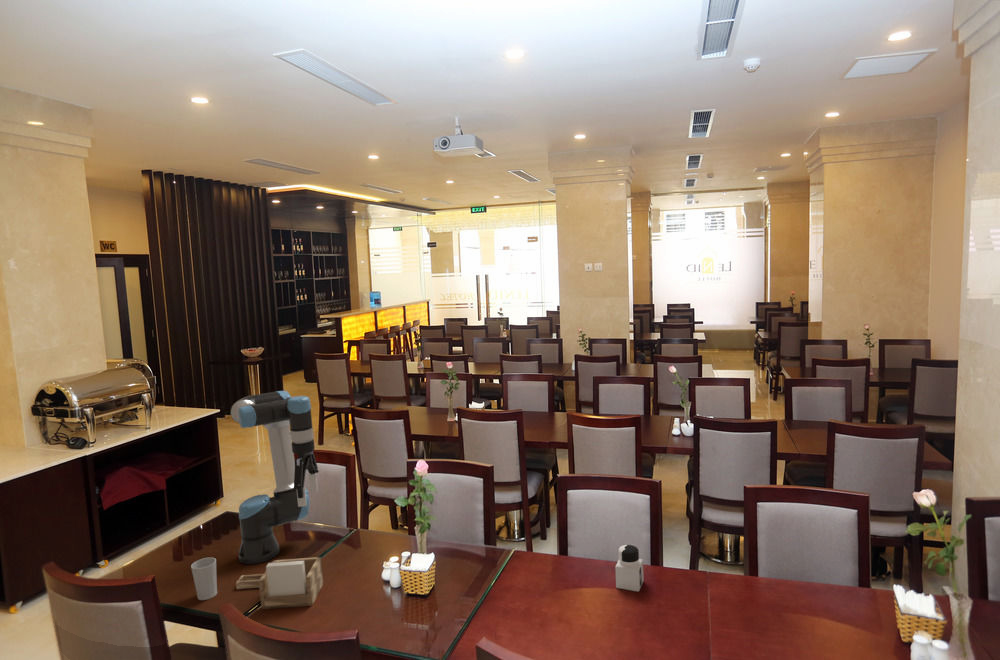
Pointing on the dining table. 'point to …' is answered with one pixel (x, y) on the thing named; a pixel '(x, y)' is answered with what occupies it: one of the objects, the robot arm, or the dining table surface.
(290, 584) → the white square slab
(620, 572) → the container
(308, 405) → the robot arm
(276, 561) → the wooden box
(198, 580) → the cup
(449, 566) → the dining table surface
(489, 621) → the dining table surface
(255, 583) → the small wooden tray
